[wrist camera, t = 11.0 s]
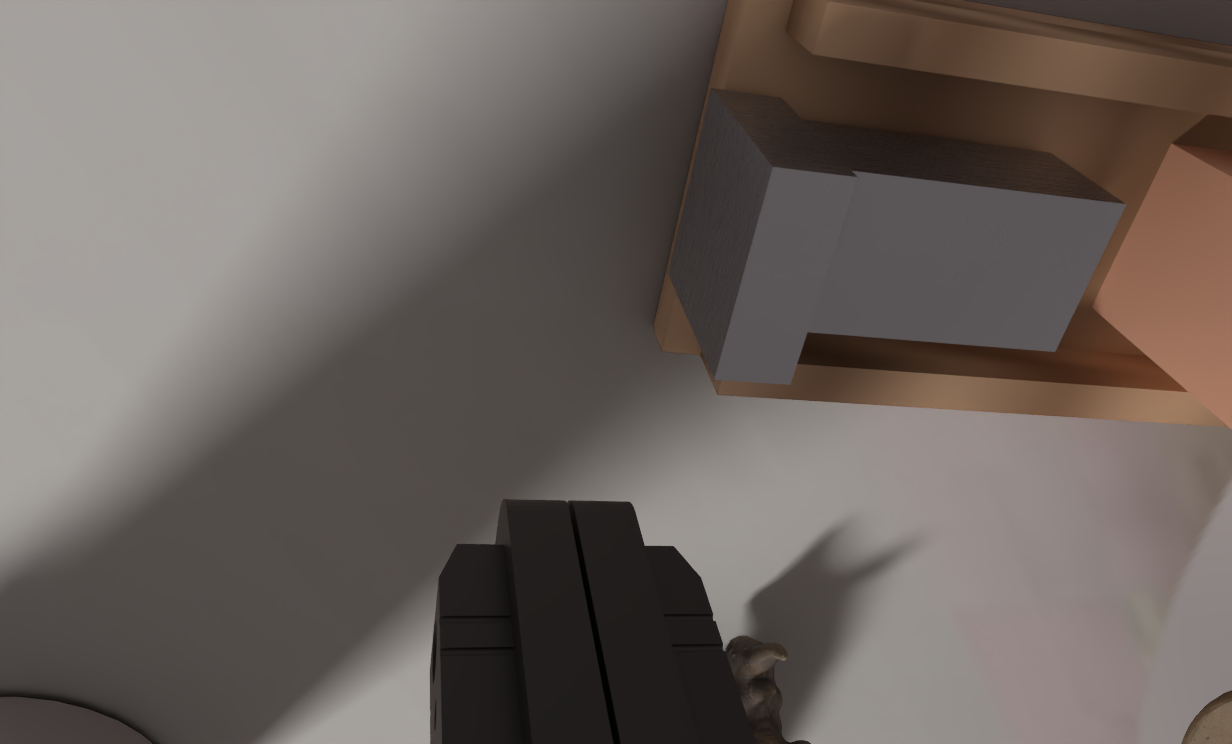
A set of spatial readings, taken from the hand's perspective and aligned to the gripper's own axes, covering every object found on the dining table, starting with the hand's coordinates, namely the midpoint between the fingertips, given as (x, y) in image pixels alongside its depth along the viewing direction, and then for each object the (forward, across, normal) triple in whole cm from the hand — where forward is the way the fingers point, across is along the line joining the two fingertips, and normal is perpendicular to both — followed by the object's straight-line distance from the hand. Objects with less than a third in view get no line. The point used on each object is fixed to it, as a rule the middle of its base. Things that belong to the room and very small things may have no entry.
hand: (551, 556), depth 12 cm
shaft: (+11, -8, 0) cm, 14 cm away
